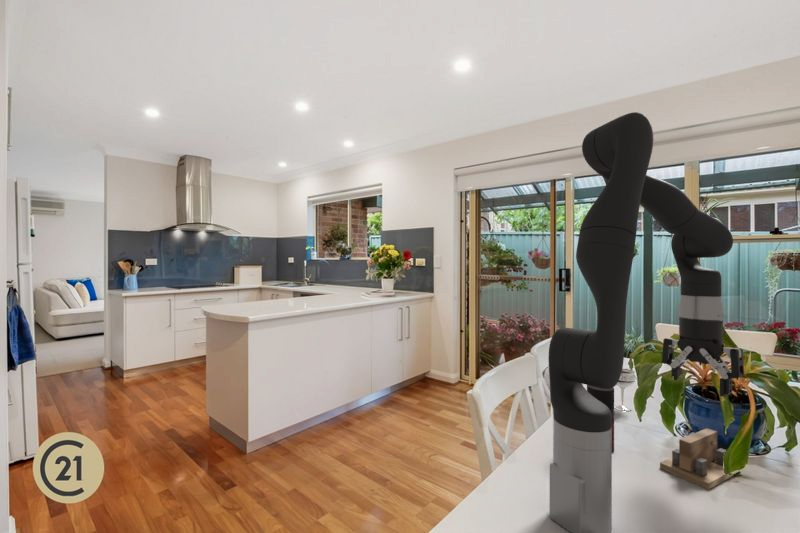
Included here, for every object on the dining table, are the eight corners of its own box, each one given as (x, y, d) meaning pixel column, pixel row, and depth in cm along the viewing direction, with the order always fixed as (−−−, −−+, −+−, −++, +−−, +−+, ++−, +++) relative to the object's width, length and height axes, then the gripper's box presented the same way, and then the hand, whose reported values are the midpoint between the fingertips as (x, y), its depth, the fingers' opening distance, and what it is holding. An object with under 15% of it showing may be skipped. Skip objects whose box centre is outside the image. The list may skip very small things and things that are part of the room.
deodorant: (586, 450, 90) (586, 388, 90) (587, 440, 95) (587, 381, 95) (614, 456, 87) (614, 392, 87) (613, 445, 93) (613, 385, 93)
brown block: (692, 472, 77) (693, 444, 78) (679, 467, 80) (679, 439, 80) (720, 459, 83) (720, 432, 83) (706, 454, 85) (706, 428, 85)
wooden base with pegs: (709, 489, 74) (709, 468, 74) (660, 467, 82) (660, 448, 82) (740, 471, 81) (740, 452, 81) (692, 453, 89) (692, 435, 89)
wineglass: (640, 410, 116) (640, 372, 116) (625, 413, 113) (625, 374, 113) (619, 403, 122) (620, 366, 122) (605, 406, 119) (605, 368, 119)
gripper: (656, 313, 86) (655, 383, 86) (733, 321, 74) (733, 403, 74) (673, 312, 90) (673, 379, 90) (750, 319, 77) (749, 397, 77)
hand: (700, 390), depth 82 cm, fingers open, 8 cm apart
